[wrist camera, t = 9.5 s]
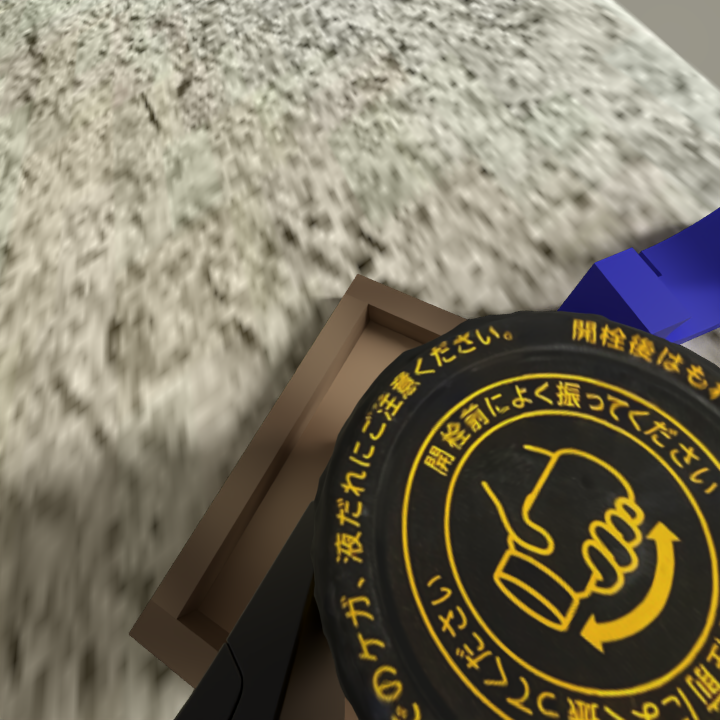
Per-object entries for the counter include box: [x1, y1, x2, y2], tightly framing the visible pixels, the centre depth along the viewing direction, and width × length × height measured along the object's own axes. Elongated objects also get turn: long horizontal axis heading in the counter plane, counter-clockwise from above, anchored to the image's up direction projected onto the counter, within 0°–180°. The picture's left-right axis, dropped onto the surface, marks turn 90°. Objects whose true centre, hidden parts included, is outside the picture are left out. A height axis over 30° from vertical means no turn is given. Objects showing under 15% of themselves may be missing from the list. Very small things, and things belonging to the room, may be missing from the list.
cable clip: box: [557, 208, 720, 345], centre depth 16 cm, size 12×4×6 cm, turn 112°
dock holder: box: [129, 274, 467, 720], centre depth 15 cm, size 16×16×2 cm
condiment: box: [310, 311, 720, 720], centre depth 9 cm, size 7×8×12 cm
